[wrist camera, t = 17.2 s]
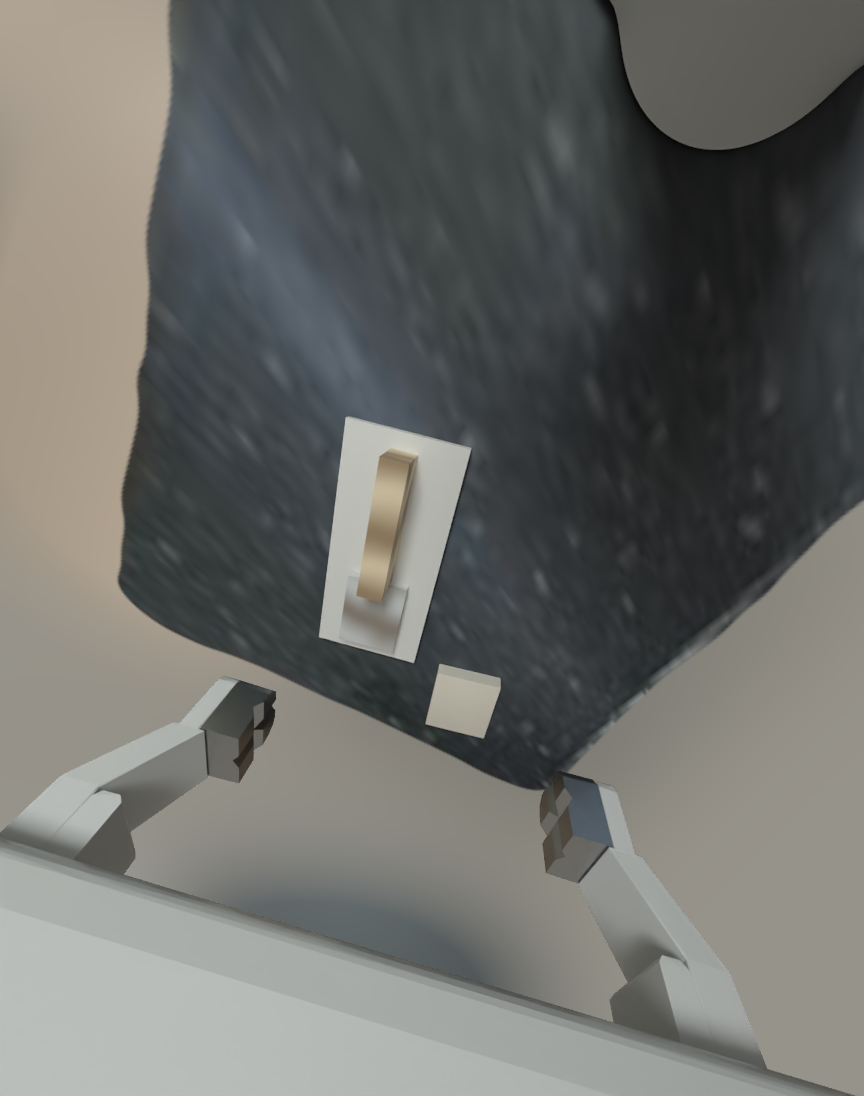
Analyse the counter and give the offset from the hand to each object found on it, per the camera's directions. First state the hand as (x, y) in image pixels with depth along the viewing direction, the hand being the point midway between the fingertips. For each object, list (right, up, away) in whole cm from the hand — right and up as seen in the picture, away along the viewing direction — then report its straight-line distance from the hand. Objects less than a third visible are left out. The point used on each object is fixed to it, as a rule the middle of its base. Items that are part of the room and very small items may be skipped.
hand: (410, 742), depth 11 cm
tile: (+5, -9, +31) cm, 33 cm away
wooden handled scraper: (-4, +5, +26) cm, 27 cm away
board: (-4, +5, +27) cm, 28 cm away
